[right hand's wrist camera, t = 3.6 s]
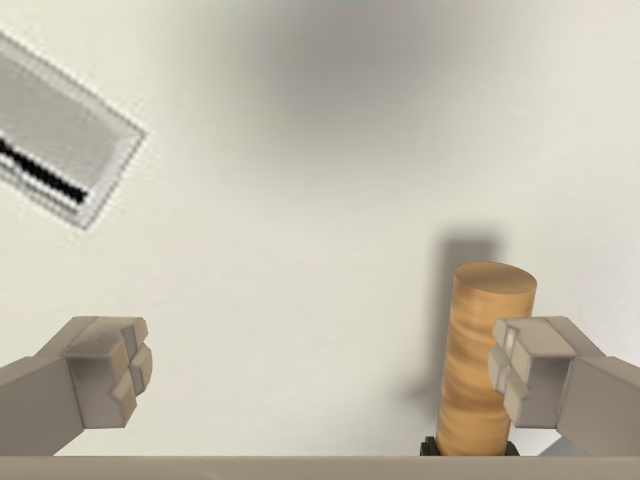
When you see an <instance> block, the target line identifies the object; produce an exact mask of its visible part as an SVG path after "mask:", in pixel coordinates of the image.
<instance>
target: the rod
mask: <svg viewBox="0 0 640 480" xmlns="http://www.w3.org/2000/svg"><path fill="white" fill-rule="evenodd" d="M536 288H537V282H536V280H535V278H534V277H533V276H532V275H531V274H529V273H528V272H526V271H524V270H522V269H519V268H517V267H514V266H510V265H507V264H502V263H496V262H485V261H479V262H469V263H465V264H462V265H460V266H458V267H457V268H456V269H455V272H454V281H453V290H452V298H451V307H450V316H449V324H448V333H447V342H446V351H445V359H444V368H443V377H442V386H441V394H440V403H439V412H438V421H437V429H436V438H435V442H436V445H437V448H438V451H439V454H440V456H505V452H506V447H507V441H508V436H509V431H510V425H511V419H510V417H509V415H508V413H507V411H506V410H505V408H504V406H503V403H504V396H502V395H501V394H499V393H497V392H496V391H495V390H494V388H493V386H492V384H491V381H490V378H489V374H488V363H487V362H488V354H489V350H490V349H491V348H492V347H493V346H494V345H495V344H496V343H497V341H496V340H495V338H494V337H493V335H492V330H493V324H494V322H495V320H496V318H508V317H531V314H532V309H533V304H534V298H535V293H536Z"/></svg>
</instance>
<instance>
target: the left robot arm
mask: <svg viewBox="0 0 640 480" xmlns="http://www.w3.org/2000/svg"><path fill="white" fill-rule="evenodd" d="M420 456H440V454H439V451H438V448H437V445H436V442H435V439H434V437H433V436H429V437H426V438H425V442H422V443H421V450H420ZM505 456H520V454H519V453H518V451H517V449H516V447H515V445H514V444H513V443H512V442H511V441H507V447H506V452H505Z"/></svg>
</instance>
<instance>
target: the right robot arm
mask: <svg viewBox="0 0 640 480" xmlns="http://www.w3.org/2000/svg"><path fill="white" fill-rule="evenodd" d="M147 335H148V330H147V325H146V321H145V320H144V319H143V318H142V317H105V316H100V317H98V316H78V317H73V318H72V319H71V320H70V321H69V322H68V323H67V324H66V325H65V326H64V327H63V328H62V329H61V330H60V331H59V332H58V333H57V334H56V335H55V336H54V337H53V338H52V339H51V340H50V341H49V342H48V343H47V344H46V345H45V346H44V347H43V348H42V349H41V350H40V351H38V352H37V353H36V354H35V355H34V356H33V357H24V358H22V359H20V360H17V361H15V362H13V363H10V364H8V365H6V366H4V367H1V368H0V480H640V368H639V367H636V366H634V365H632V364H630V363H627V362H625V361H623V360H620V359H618V358H616V357H607V356H606V355H605V354H604V353H603V352H602V351H601V350H600V349H599V348H598V347H596V346H595V345H594V344H593V343H592V342H591V341H590V340H589V339H588V338H587V337H586V336H585V335H584V334H583V333H582V332H581V331H580V330H579V329H578V328H577V327H576V326H575V325H574V324H573V323H572V322H571V321H570V320H569V319H568V318H566V317H563V316H547V317H508V318H496V320H495V322H494V324H493V330H492V335H493V337H494V338H495V340H496V341H497V343H496V344H495V345H494V346H493V347H492V348H491V349H490V350H489V354H488V362H487V363H488V374H489V378H490V381H491V384H492V386H493V388H494V390H495V391H496V392H497V393H499V394H501V395H502V396H504V403H503V406H504V408H505V410H506V411H507V413H508V415H509V417H510V419H511V420H512V422H513V424H514V426H515V428H538V429H556V431H557V432H558V433H559V434H561V435H562V436H563V437H565V438H566V439H567V440H568V441H570V442H571V443H572V444H574V445H575V446H576V447H577V448H579V449H580V450H581V451H582V452H584V453H585V454H586V455H588V456H53V455H54V454H55V453H56V452H58V451H59V450H60V449H62V448H63V447H64V446H65V445H67V444H68V443H69V442H71V441H72V440H73V439H74V438H76V437H77V436H78V435H79V434H81V433H82V432H83V431H84V429H102V428H125V426H126V424H127V422H128V420H129V419H130V417H131V415H132V413H133V411H134V410H135V408H136V406H137V403H136V396H138V395H139V394H141V393H143V392H144V391H145V390H146V388H147V386H148V384H149V381H150V377H151V373H152V354H151V350H150V349H149V348H148V347H147V346H146V345H145V344H144V343H143V341H144V340H145V338H146V337H147Z"/></svg>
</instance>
